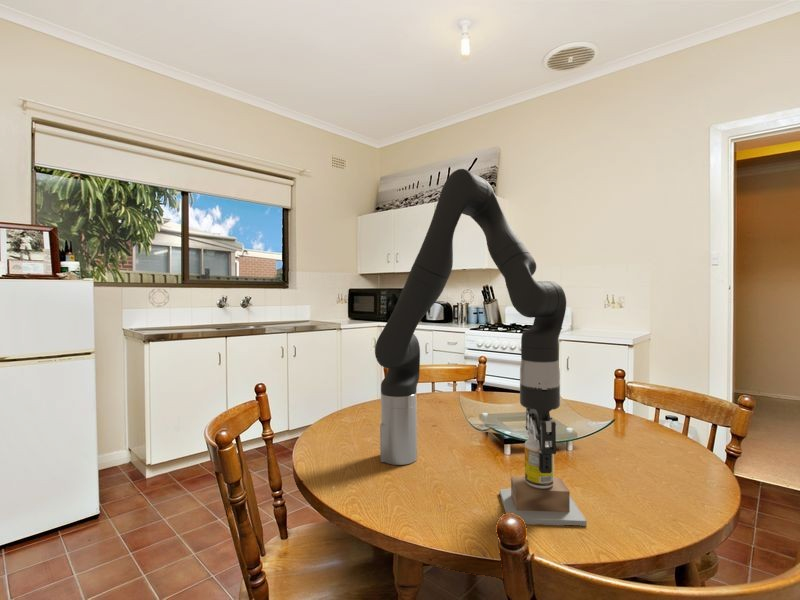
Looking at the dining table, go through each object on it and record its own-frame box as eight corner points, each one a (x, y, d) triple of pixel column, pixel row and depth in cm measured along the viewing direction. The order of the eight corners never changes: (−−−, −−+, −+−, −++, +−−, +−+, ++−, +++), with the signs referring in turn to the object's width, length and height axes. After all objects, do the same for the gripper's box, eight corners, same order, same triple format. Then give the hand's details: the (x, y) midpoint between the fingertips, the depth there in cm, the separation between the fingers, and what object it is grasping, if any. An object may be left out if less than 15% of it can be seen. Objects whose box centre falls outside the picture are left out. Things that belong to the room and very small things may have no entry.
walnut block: (516, 510, 84) (516, 489, 84) (511, 495, 90) (511, 476, 90) (569, 512, 83) (569, 491, 83) (560, 497, 89) (560, 477, 89)
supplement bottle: (531, 475, 90) (531, 426, 90) (558, 482, 87) (558, 431, 86) (520, 484, 86) (519, 433, 86) (547, 492, 82) (547, 439, 82)
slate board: (509, 523, 81) (509, 518, 81) (499, 493, 93) (499, 488, 93) (586, 526, 80) (586, 520, 80) (566, 495, 92) (566, 490, 92)
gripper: (513, 375, 93) (514, 449, 94) (528, 390, 79) (528, 478, 79) (549, 375, 93) (549, 450, 93) (570, 390, 78) (570, 479, 79)
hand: (539, 463), depth 86 cm, fingers open, 8 cm apart
